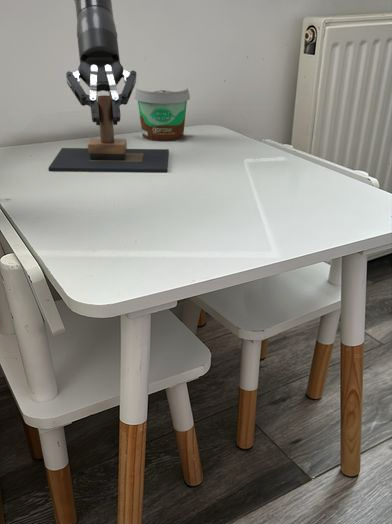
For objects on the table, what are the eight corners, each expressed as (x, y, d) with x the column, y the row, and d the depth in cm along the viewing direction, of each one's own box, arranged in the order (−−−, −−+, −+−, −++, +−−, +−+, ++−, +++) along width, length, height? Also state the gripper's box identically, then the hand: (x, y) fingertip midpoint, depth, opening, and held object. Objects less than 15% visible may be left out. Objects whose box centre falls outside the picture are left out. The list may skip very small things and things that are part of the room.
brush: (89, 160, 107) (83, 98, 101) (92, 153, 111) (87, 94, 105) (125, 160, 108) (122, 99, 101) (127, 154, 111) (124, 94, 105)
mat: (48, 171, 103) (48, 167, 103) (62, 150, 115) (61, 147, 115) (167, 172, 104) (167, 168, 104) (168, 152, 116) (168, 149, 115)
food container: (140, 143, 121) (138, 93, 115) (135, 136, 126) (133, 88, 120) (195, 141, 123) (196, 92, 118) (189, 134, 128) (189, 87, 123)
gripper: (133, 54, 111) (142, 133, 108) (62, 54, 109) (69, 135, 106) (135, 26, 104) (145, 109, 101) (58, 25, 102) (66, 111, 99)
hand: (106, 122), depth 104 cm, fingers closed on brush, 2 cm apart
